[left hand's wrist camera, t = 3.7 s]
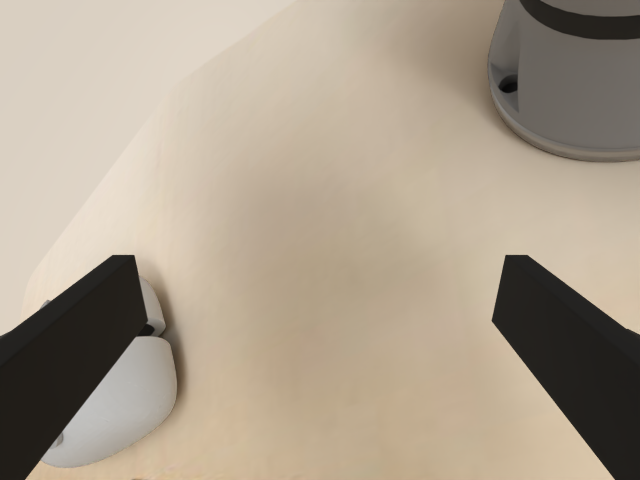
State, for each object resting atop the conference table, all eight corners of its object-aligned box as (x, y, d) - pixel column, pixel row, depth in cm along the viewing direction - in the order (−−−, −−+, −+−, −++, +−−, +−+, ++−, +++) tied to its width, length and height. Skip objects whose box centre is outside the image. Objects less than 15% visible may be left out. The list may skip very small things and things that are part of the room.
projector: (104, 263, 48) (-44, 238, 35) (223, 292, 35) (60, 268, 23) (53, 437, 44) (-129, 474, 32) (165, 534, 32) (-61, 654, 20)
